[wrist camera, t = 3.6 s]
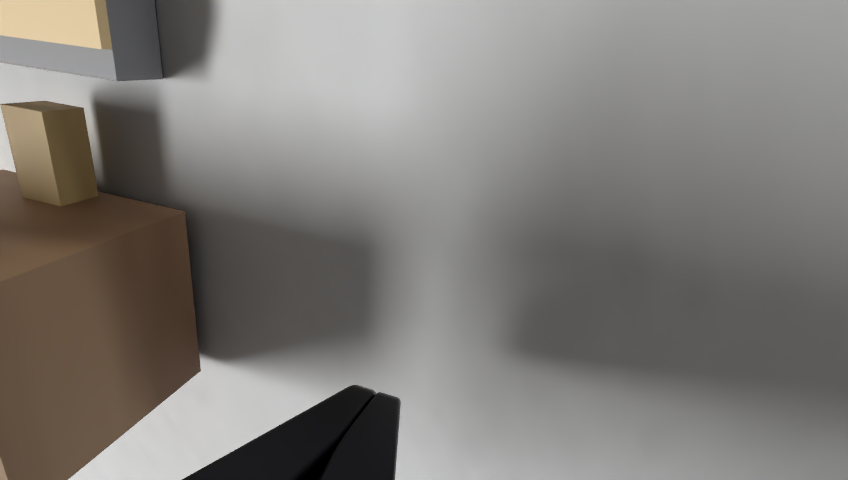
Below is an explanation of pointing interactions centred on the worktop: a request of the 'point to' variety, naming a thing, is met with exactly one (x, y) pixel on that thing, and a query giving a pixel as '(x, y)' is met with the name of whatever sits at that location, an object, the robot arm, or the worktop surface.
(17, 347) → the block
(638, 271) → the worktop surface
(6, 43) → the tuner gauge
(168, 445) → the worktop surface
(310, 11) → the worktop surface
